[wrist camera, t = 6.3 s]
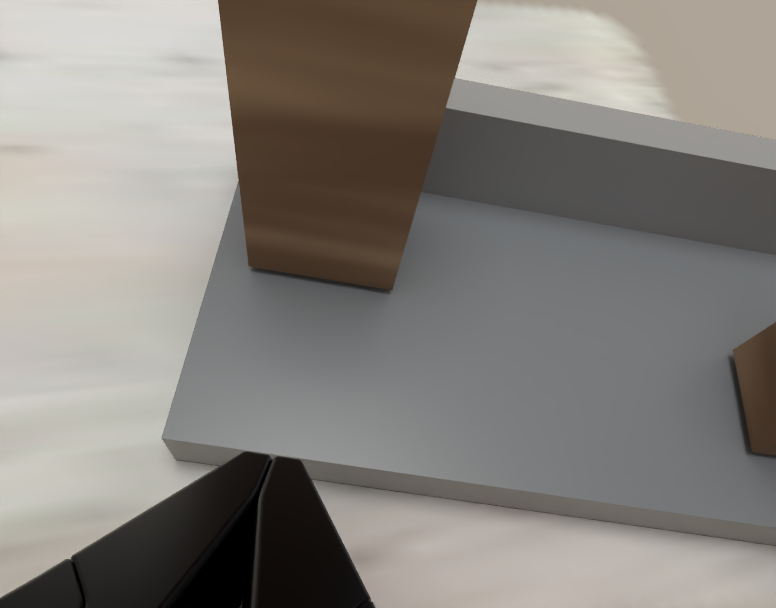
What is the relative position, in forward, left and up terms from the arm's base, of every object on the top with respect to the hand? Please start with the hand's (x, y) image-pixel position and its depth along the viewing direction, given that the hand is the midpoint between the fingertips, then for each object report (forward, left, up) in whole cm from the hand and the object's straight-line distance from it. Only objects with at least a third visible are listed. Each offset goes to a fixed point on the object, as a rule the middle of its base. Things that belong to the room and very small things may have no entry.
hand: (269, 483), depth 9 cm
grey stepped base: (+7, -7, -8) cm, 13 cm away
